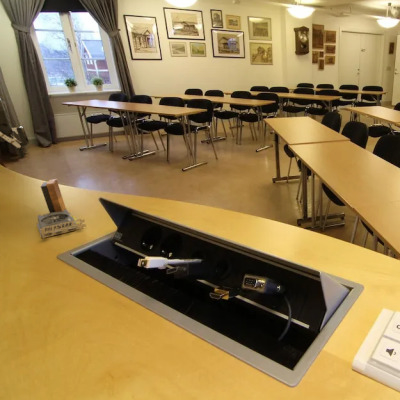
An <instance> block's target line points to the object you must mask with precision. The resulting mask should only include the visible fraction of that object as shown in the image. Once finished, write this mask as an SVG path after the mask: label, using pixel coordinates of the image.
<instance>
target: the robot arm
mask: <svg viewBox="0 0 400 400" xmlns="http://www.w3.org/2000/svg"><path fill="white" fill-rule="evenodd" d="M13 133H15V134H16V135H18V136H19V139H20V140H18V139H17V138H16V137H15V136H14V135H13ZM0 142H3V143H4V142H8V143H9V144H11V145H13V146H14V147H16V148H15V150H16V153H17V155H18V158H19V160H23V159H25V157H26V151H25V148H24V147H25V146H27V145H29V144H30V141H29V138H28V136H27V133H26V131H25V128H24V126H18V127H12V126H11V124H10V121H9V118H8V115H7V112H6V110H5V107H4V103H3V100H2V99H1V97H0Z"/></svg>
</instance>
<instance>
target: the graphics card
mask: <svg viewBox="0 0 400 400" xmlns="http://www.w3.org/2000/svg"><path fill="white" fill-rule="evenodd" d="M37 222H38V223H36V225H37V229H38V232H39V235H40V238H42V240H43V241H44V239H45V238H49V237H52V236H58V235H60V234H65V233H70V232H73V231H77V230H82V229H84V228H85V227H87V224H86V223H85V222H86V221H85V218H83V219H82V218H79V219H77V218H76V217H75V216H74V215H71V214H70V212H69V211H68V210H67V209H66V210H64V211H60V212H52V213H50V212H49V213H46V214H42V215H41V214H38V215H37Z"/></svg>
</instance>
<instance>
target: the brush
mask: <svg viewBox="0 0 400 400" xmlns="http://www.w3.org/2000/svg"><path fill="white" fill-rule="evenodd" d="M40 189H41V192H42V195H43V197H44V201H45V204H46V206H47V209H48V212H49V213H52V212H60V211H64V210H67V207H66V204H65V201H64V198H63V195H62V192H61V189H60V186H59V183H58V180H57V178H54V179H53V178H52V179H49V180H48V181H45V182H43V183H42V184H41V186H40Z"/></svg>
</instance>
